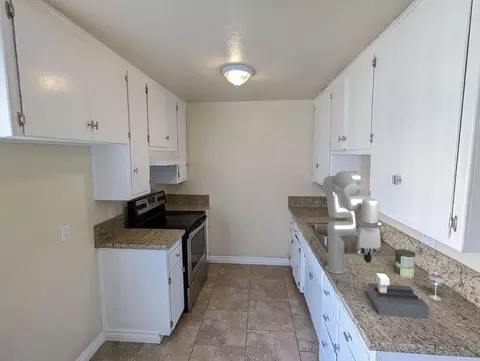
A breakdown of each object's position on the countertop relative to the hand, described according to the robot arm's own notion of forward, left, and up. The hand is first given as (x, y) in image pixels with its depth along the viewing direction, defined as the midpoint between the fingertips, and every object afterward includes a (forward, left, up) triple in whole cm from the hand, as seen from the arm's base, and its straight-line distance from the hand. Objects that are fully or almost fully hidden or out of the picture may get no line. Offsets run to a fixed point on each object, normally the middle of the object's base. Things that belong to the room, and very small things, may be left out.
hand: (367, 261), depth 127 cm
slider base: (0, +13, -21) cm, 25 cm away
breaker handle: (0, +7, -15) cm, 16 cm away
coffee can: (-37, +32, -21) cm, 53 cm away
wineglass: (-11, +36, -21) cm, 43 cm away
